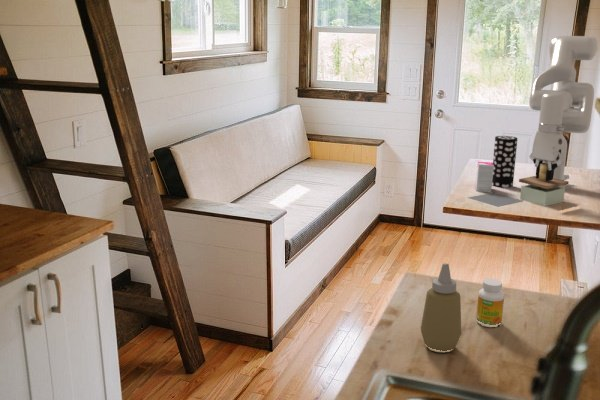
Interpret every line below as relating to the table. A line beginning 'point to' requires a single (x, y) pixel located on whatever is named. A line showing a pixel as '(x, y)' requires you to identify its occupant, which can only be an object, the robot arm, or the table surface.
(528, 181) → the lid
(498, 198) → the mat
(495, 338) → the table surface
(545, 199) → the green open box
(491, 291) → the supplement bottle
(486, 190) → the supplement box
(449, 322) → the squeeze bottle
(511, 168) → the white-spotted black cylinder
